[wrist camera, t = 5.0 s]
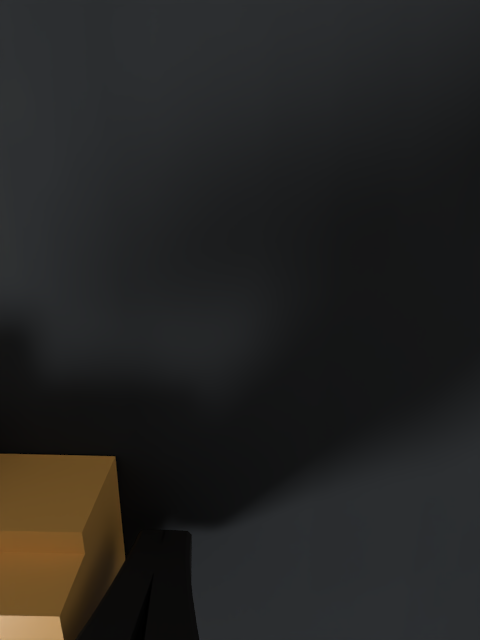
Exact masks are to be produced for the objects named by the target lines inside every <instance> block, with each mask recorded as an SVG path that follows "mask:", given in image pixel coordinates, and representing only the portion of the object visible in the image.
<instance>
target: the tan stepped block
mask: <svg viewBox="0 0 480 640" xmlns="http://www.w3.org/2000/svg"><path fill="white" fill-rule="evenodd" d="M124 561H125V550H124V540H123V530H122V519H121V509H120V499H119V489H118V478H117V468H116V458H115V456H81V455H37V454H0V640H75V639H76V638H77V636H78V635H79V633H80V632H81V630H82V629H83V627H84V626H85V624H86V623H87V622H88V620H89V619H90V617H91V616H92V614H93V612H94V611H95V609H96V608H97V606H98V605H99V603H100V601H101V600H102V598H103V597H104V595H105V593H106V592H107V590H108V589H109V587H110V585H111V584H112V582H113V580H114V579H115V577H116V575H117V574H118V572H119V570H120V568H121V567H122V565H123V563H124Z"/></svg>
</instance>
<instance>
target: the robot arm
mask: <svg viewBox="0 0 480 640" xmlns="http://www.w3.org/2000/svg"><path fill="white" fill-rule="evenodd" d="M191 544H192V535H191V534H190V533H189V532H188V531H176V530H148V529H143V530H142V531H141V532H139V534H138V536H137V538H136V540H135V542H134V544H133V546H132V548H131V550H130V552H129V554H128V556H127V558H126V559H125V561H124V563H123V565H122V567H121V568H120V570H119V572H118V574H117V575H116V577H115V579H114V580H113V582H112V584H111V585H110V587H109V589H108V590H107V592H106V593H105V595H104V597H103V598H102V600H101V601H100V603H99V605H98V606H97V608H96V609H95V611H94V612H93V614H92V616H91V617H90V619H89V620H88V622H87V623H86V624H85V626H84V627H83V629H82V630H81V632H80V633H79V635H78V636H77V638H76V639H75V640H199V635H198V630H197V624H196V617H195V610H194V603H193V596H192V586H191Z"/></svg>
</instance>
